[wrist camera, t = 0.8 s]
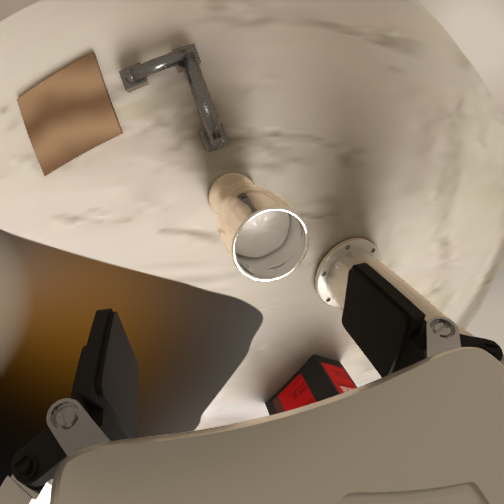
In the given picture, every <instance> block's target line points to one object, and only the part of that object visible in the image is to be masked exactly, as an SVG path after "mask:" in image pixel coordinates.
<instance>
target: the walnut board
mask: <svg viewBox="0 0 504 504" xmlns="http://www.w3.org/2000/svg"><path fill="white" fill-rule="evenodd" d="M17 101H18V105H19V108H20V111H21V114H22V117H23V120H24V123H25V126H26V129H27V132H28V135H29V138H30V140H31V143H32V146H33V148H34V151H35V154H36V156H37V159H38V161H39V164H40V166H41V168H42V171H43V173H44V175H45V176H46V175H48V174H49V173H51V172H52V171H54V170H56V169H57V168H59V167H61V166H62V165H64V164H66V163H67V162H69V161H71V160H72V159H74V158H76V157H78V156H80V155H81V154H83V153H85V152H87V151H89V150H90V149H92V148H94V147H96V146H98V145H100V144H102V143H104V142H106V141H108V140H110V139H112V138H114V137H116V136H118V135H120V134H122V133H123V132H122V130H121V127H120V125H119V122H118V119H117V117H116V114H115V111H114V108H113V106H112V103H111V100H110V97H109V95H108V92H107V89H106V86H105V83H104V80H103V77H102V74H101V71H100V68H99V65H98V62H97V59H96V56H95V53H91V54H89V55H87V56H85V57H84V58H82V59H80V60H78V61H76V62H74V63H73V64H71V65H69V66H67V67H65V68H64V69H62V70H60V71H59V72H57V73H55V74H54V75H52V76H51V77H49V78H47V79H46V80H44V81H43V82H41V83H40V84H38V85H37V86H35V87H34V88H32V89H31V90H29V91H28V92H27V93H25V94H24V95H22V96H21V97H20V98H18V99H17Z"/></svg>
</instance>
